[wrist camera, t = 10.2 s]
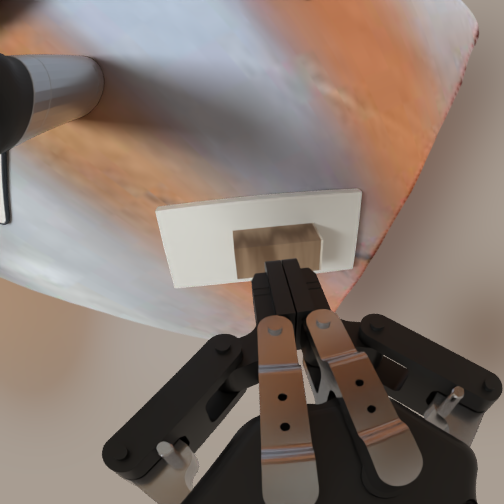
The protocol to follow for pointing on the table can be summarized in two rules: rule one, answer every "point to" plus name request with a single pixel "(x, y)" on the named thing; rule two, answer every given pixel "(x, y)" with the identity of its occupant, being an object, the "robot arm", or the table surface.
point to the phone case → (3, 191)
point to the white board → (249, 217)
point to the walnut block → (276, 247)
